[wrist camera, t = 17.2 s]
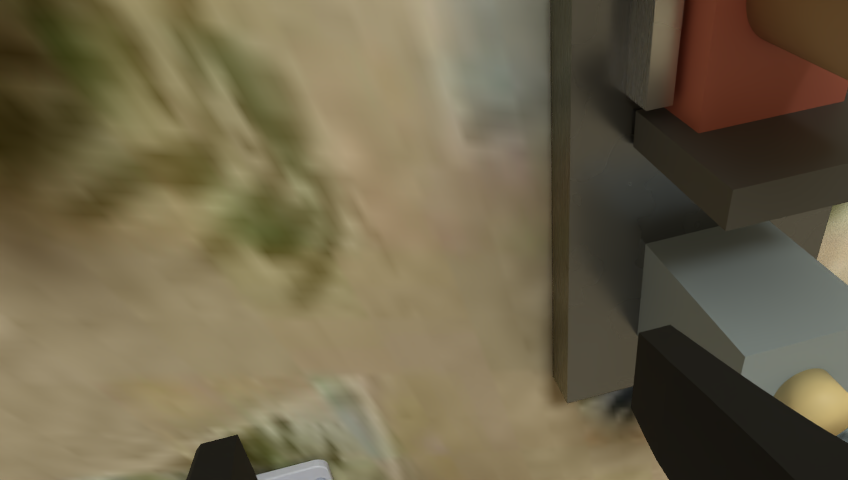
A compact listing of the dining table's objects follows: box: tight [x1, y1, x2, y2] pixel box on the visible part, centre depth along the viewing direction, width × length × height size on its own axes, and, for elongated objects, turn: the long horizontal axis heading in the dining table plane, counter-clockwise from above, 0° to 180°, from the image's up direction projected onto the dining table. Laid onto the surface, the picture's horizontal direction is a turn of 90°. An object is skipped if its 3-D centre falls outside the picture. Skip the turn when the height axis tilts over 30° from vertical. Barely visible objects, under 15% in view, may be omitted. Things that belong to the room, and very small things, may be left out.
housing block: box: [637, 221, 848, 436], centre depth 21 cm, size 4×4×7 cm
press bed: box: [551, 0, 832, 403], centre depth 21 cm, size 20×10×3 cm, turn 9°
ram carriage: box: [633, 0, 848, 231], centre depth 16 cm, size 7×6×6 cm
